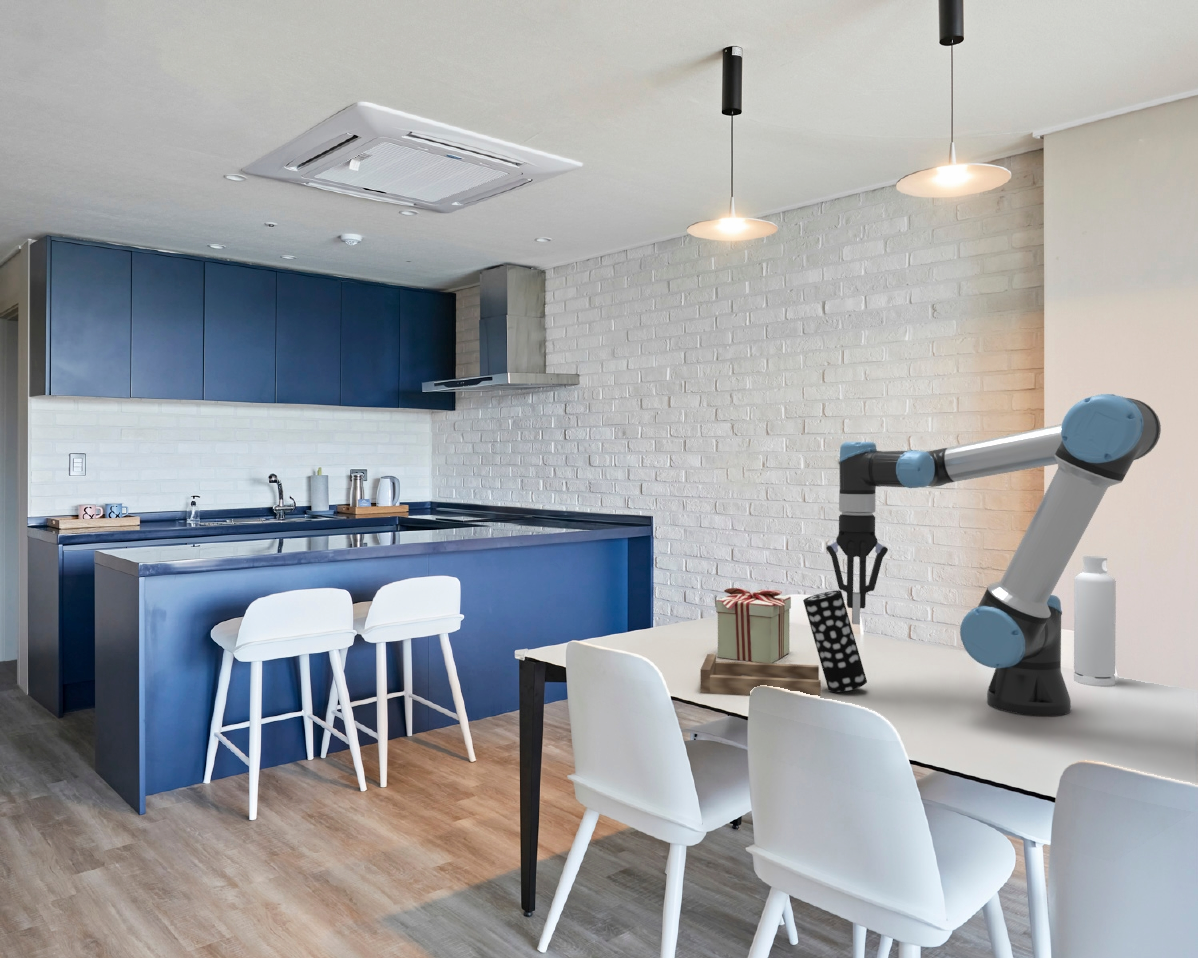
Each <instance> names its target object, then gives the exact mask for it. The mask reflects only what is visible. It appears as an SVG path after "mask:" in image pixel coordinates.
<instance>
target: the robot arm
mask: <svg viewBox="0 0 1198 958" xmlns="http://www.w3.org/2000/svg"><path fill="white" fill-rule="evenodd" d="M1161 426H1162V425H1161V421H1160V419H1159V416H1158V414H1157V413H1156V412H1155V410H1154V409H1153V408H1152V407H1151V406H1150V405H1149V404H1147V403H1146V402H1143V401H1141V400H1138V399H1135V398H1131V397H1125V396H1121V395H1116V394H1114V393H1113V394H1112V393H1111V394H1110V393H1105V394H1104V393H1103V394H1096V395H1092V396H1089V397H1086V398H1083V399H1081V400H1080V401H1078V402H1075V404H1074V405H1073V406H1071V408H1070V409H1069V410H1068V411H1067V412H1066V414H1065V416H1064V417H1063V420H1062V423H1061V424H1056V425H1055V424H1054V425H1051V426H1046V427H1041V428H1037V429H1036V428H1035V429H1031V430H1026V431H1023V432H1022V431H1021V432H1017V433H1012V434H1008V435H1002V436H998V437H993V438H992V437H991V438H987V439H983V440H977V441H972V442H968V443H964V444H958V445H955V446H949V447H944V448H938V449H933V450H927V451H924V450H913V449H911V450H909V449H908V450H885V451H884V450H878V449H877V445H876V443H875V442H874V441H845V442H842V444H841V445H840V449H839V450H840V451H839V461H838V464H839V469H838V470H839V493H838V511H839V512H840V513H841V514H839V516H838V534H837V536H836V538H835V539H836V540H835V541H834V542H833V543H831V544H827V545H826V547H825V548H826V550H827V553H828V554H829V555H830V557H831V560H832V565H833V569H834V574H835V579H836V582H837V587H838V588H839V591H844V592H845V593H846V607H847V608H848V609H851V625H861V609H866V601H867V600H866V599H867V598H866V596H867V594H868V593H870V592H873V591H875V589H876V585H877V580H878V578H879V573H880V569H881V566H882V563H883V558H884V557H885V556H886V554H887V553H888V551H889V549H888V548H887V546H885V545H883V544H881V543H879V542H878V541H879V540H878V538H877V536H876V516H875V515H874V514H873V513H876V490H877V489H876V488H877V487H888V488H908V489H919V488H925V487H930V488H934V487H940V486H941V487H942V486H945V485H946V484H950V483H951V484H952V483H956V482H961V481H962V482H963V481H967V480H972V479H978V478H984V477H991V476H995V475H1002V474H1008V473H1013V472H1020V471H1024V470H1031V469H1036V468H1037V469H1038V468H1042V467H1043V468H1044V467H1048V466H1054V465H1057V470H1056V471H1055V474H1054V476H1053V477H1052V479H1051V481H1050V484H1049V485H1048V487H1047V490H1046V491H1045V493H1044V495H1043V497H1042V499H1041V501H1040V503H1039V505H1038V507H1037V508H1036V510H1035V513H1034V515H1033V516H1032V518H1031V520H1030V523H1029V524H1028V526H1027V528H1026V530H1025V533H1024V534H1023V537H1022V538H1021V540H1020V542H1019V545H1018V546H1017V548H1016V550H1015V552H1014V554H1013V556H1012V557H1011V560H1010V562H1009V564H1008V565H1007V567H1006V570H1005V572H1004V574H1003V575H1002V577H1001V580H999V581H997V582H994V583H990V584H989V585H988V586H987V588H986V590H985V592H984V594H983V596H982V597H981V600H980V602H979V603H978V606H977V607H974V608H972V609H970V611H968V613H966V615H965V616H964V617H963V618H962V622H961V624H960V628H959V629H960V630H959V633H960V634H959V635H960V641H961V642H962V645H963V648H964V650H965V652H967V654H968V655H969V657H971V658H972V659H973V660H974V661H976V662H977V663H978V664H980V665H982V666H985V667H988V668H992V669H994V672H993V675H992V677H991V680H990V683H989V686H988V689H987V692H986V693H987V694H986V702H987V704H988V705H989V706H991V707H992V708H995V709H997V710H1001V711H1003V712H1008V713H1012V714H1020V715H1027V716H1036V717H1037V716H1038V717H1055V716H1063V715H1067V714H1069V713H1071V706H1072V705H1071V704H1072V703H1071V696H1070V693H1069V691H1068V688H1067V685H1066V683H1065V679H1064V676H1063V674H1062V666H1061V665H1062V664H1061V662H1062V661H1061V659H1062V657H1061V656H1062V615H1063V611H1062V606H1061V605H1062V603H1061V600H1060V598H1059V596H1057V595H1055V594H1052V593H1053V591H1054V590H1055V588H1056V586H1057V584H1058V582H1059V581H1060V578H1061V577H1062V574H1063V573H1064V571H1065V568H1066V567H1067V566H1068V563H1069V562H1070V559H1071V558H1072V556H1073V554H1074V552H1075V551H1076V549H1077V546H1078V545H1079V543H1080V541H1081V539H1082V537H1083V536H1084V533H1085V532H1086V530H1087V528H1088V526H1089V524H1090V522H1091V520H1092V518H1093V517H1094V515H1095V512H1096V511H1097V508H1098V507H1099V505H1100V503H1101V502H1102V499H1103V498H1104V495H1105V494H1106V492H1107V490H1108V488H1110V487H1112V486H1115V485H1118V484H1121V483H1122V482H1123V480H1124V479H1125V478H1126V476H1127V473H1128V472H1129V470H1130V468H1131V466H1132V465H1133V462H1134V461H1136V460H1139V459H1142V458H1144V457H1146V455H1148V454H1149V453H1150V452H1152V450H1154V448H1155V447H1156V446H1157V444H1158V442H1159V440H1160V436H1161V431H1162V429H1161ZM838 547H839V548H840V549H841V550H842V552H843V553H844V555H846V584H845V583H844V580H843V578H844V577H843V575H842V571H841V567H840V562H839V558H838V556H837V553H838V551H839V549H838ZM874 548H875V550H874ZM873 550H874V551H875V553H876V554H875V558H874V562H873V565H872V569H871V573H870V578H869V580H868V584H867V557H868V556H869V555H870V553H871V552H872V551H873ZM855 557H857V558H858V559H859V563H858V564H859V565H858V567H859V569H858V572H859V573H858V574H859V575H858V577H859V578H858V580H859V581H858V588H859V589H858V590H859V591H858V592H857V591H854V561H855V559H854V558H855Z"/></svg>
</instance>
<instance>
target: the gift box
mask: <svg viewBox="0 0 1198 958" xmlns="http://www.w3.org/2000/svg"><path fill="white" fill-rule="evenodd" d="M723 592H724V593H726V594H728V595H727V596H724V597H723V598H722V597H720V598H719V599H717V600H716V602H715V603H716V604H715V605H716V606H715V608H716V609H715V612H716V613H717V658H719V659H726V660H735V661H739V662H753V663H774V662H775V663H776V662H777V661H778V660H780V659H782V658H783V657H785V656H786V655H788V654H789V653H790V610H791V608H792V597H791V596H790V595H789V596H788V595H782V594H783V592H782V591H781V590H777V589H771V590H768V589H767V590H766V589H760V590H759V589H758V590H757V591H756V592H755V591H754V592H750V591H748V589H745V588H737V587H729V588H726V589H724V590H723Z"/></svg>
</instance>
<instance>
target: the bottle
mask: <svg viewBox="0 0 1198 958" xmlns="http://www.w3.org/2000/svg"><path fill="white" fill-rule="evenodd" d="M1082 561H1083V569H1082V572H1080V573H1078V574H1077V575H1076V576H1075V577H1074V579H1073V582H1074V584H1073V587H1074V588H1073V592H1074V593H1073V599H1074V601H1073V605H1074V606H1073V623H1074V624H1073V670H1074V672H1073V680H1074V682H1076V683H1078V684H1082V685H1086V686H1092V687H1093V686H1094V687H1112V686H1115V685H1116V676H1115V675H1116V621H1117V620H1116V612H1117V611H1116V610H1117V609H1116V608H1117V607H1116V603H1117V595H1116V594H1117V593H1116V592H1117V591H1116V589H1117V588H1116V586H1117V585H1116V584H1117V583H1116V582H1117V581H1116V579H1115V578H1114V577H1113V575H1111V574H1110V573H1108V568H1107V561H1108V557H1106V556H1099V555H1085V556H1082Z"/></svg>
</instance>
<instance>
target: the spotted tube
mask: <svg viewBox="0 0 1198 958" xmlns="http://www.w3.org/2000/svg"><path fill="white" fill-rule="evenodd" d="M843 596H844V595H843V593H842V590H831V591H825V592H821V593H817V594H813V595H811V596H807V597H806V598H804V599H802V601H803V604H804V608H805V612H806V616H807V618H808V622H809V627H810V630H811V634H812V637H813V640H814V644H815V647H816V651H817V654H818V658H819V661H820V665H821V668H822V671H823V676H824V679H825V682H826V685H827V688H828V691H829V692H831V693H832V692H833V693H840V692H843V693H844V692H848V691H852V690H856V689H858V688H860V687H863V686H864V685H866V684H867V683H868V680H867V677H866V674H865V669H864V666H863V663H862V659H861V655H860V653H859V648H858V645H857V642H856V638H855V635H854V631H853V627H852V623H851V621H850V618H849V617H850V616H849V613H848V610H847V605H846V604H845V600H844V597H843Z"/></svg>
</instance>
